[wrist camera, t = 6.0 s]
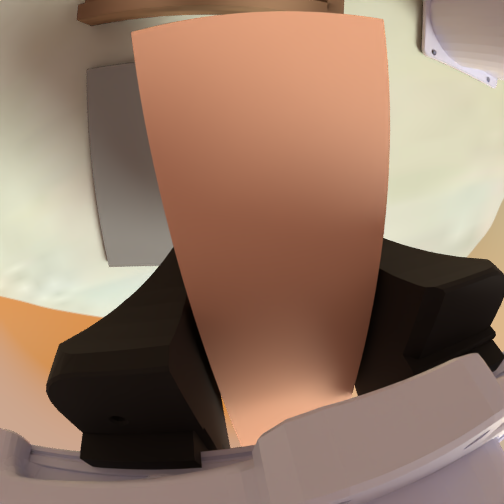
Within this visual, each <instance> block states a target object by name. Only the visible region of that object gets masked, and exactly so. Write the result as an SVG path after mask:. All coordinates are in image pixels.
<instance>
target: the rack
mask: <svg viewBox="0 0 504 504" xmlns="http://www.w3.org/2000/svg"><path fill="white" fill-rule="evenodd" d="M270 11H303V12H324V13H337V14H344V0H85V3H83V4H79V5H78V13H77V20H78V21H80V22H83V23H85V24H88V25H90V26H94V25H99V24H104V23H110V22H116V21H123V20H130V19H138V18H147V17H158V16H172V15H225V14H235V13H249V12H270Z"/></svg>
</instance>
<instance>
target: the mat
mask: <svg viewBox="0 0 504 504" xmlns="http://www.w3.org/2000/svg"><path fill="white" fill-rule="evenodd" d="M87 108H88V127H89V141H90V152H91V162H92V171H93V179H94V187H95V194H96V201H97V207H98V213H99V219H100V225H101V230H102V235H103V241H104V246H105V250H106V255H107V260H108V264H109V267H124V266H159V265H160V264H161V263H162V262H163V260H164V259H165V258H166V256H167V255H168V254H169V252H170V251H171V249H172V248H173V243H172V239H171V235H170V231H169V227H168V223H167V220H166V216H165V212H164V207H163V203H162V199H161V195H160V191H159V187H158V182H157V178H156V173H155V169H154V164H153V160H152V155H151V150H150V145H149V140H148V135H147V130H146V125H145V120H144V114H143V109H142V103H141V97H140V91H139V85H138V79H137V72H136V66H135V62H134V63H125V64H118V65H110V66H104V67H98V68H92V69H87Z"/></svg>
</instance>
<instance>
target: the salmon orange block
mask: <svg viewBox="0 0 504 504" xmlns="http://www.w3.org/2000/svg"><path fill="white" fill-rule="evenodd" d="M131 36H132V44H133V51H134V59H135V66H136V72H137V79H138V85H139V91H140V97H141V103H142V109H143V114H144V120H145V125H146V130H147V135H148V140H149V145H150V150H151V155H152V160H153V164H154V169H155V173H156V178H157V182H158V187H159V191H160V195H161V199H162V203H163V207H164V212H165V216H166V220H167V223H168V227H169V231H170V235H171V239H172V243H173V246H174V250H175V254H176V257H177V261H178V264H179V268H180V271H181V275H182V278H183V282H184V285H185V288H186V292H187V295H188V298H189V302H190V305H191V308H192V311H193V315H194V318H195V321H196V324H197V327H198V330H199V333H200V336H201V339H202V342H203V345H204V348H205V351H206V354H207V357H208V360H209V363H210V366H211V368H212V371H213V374H214V377H215V380H216V382H217V385H218V388H219V391H220V393H221V396H222V399H223V401H224V404H225V406H226V409H227V412H228V414H229V417H230V419H231V422H232V425H233V427H234V430H235V432H236V435H237V437H238V439H239V442H240V444H241V447H244V446H250V445H255V444H256V442H257V440H258V439H259V437H260V436H261V435H262V434H263V433H265V432H266V431H268V430H270V429H271V428H273V427H275V426H276V425H278V424H279V423H281V422H283V421H284V420H286V419H288V418H291V417H294V416H297V415H300V414H303V413H306V412H309V411H311V410H314V409H317V408H319V407H323V406H326V405H330V404H334V403H337V402H341V401H344V400H347V399H351V396H352V393H353V389H354V385H355V382H356V378H357V374H358V370H359V366H360V362H361V358H362V354H363V350H364V346H365V341H366V337H367V332H368V327H369V323H370V318H371V312H372V307H373V302H374V296H375V290H376V284H377V278H378V272H379V265H380V258H381V251H382V243H383V234H384V225H385V215H386V204H387V191H388V174H389V149H390V100H389V76H388V61H387V49H386V38H385V29H384V21H383V19H378V18H371V17H364V16H356V15H348V14H337V13H324V12H303V11H270V12H249V13H235V14H225V15H216V16H208V17H201V18H195V19H188V20H183V21H177V22H172V23H167V24H162V25H158V26H154V27H149V28H145V29H141V30H137V31H134V32H131Z"/></svg>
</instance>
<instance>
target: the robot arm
mask: <svg viewBox="0 0 504 504" xmlns="http://www.w3.org/2000/svg"><path fill="white" fill-rule="evenodd" d="M432 50H433V54H432ZM422 53H423V54H424V55H425V56H427V57H430V58H432V59H434V60H437V61H439V62H441V63H444V64H446V65H448V66H450V67H452V68H454V69H457V70H459V71H461V72H463V73H465V74H467V75H469V76H471V77H473V78H475V79H477V80H478V81H480V82H482V83H484V84H486V85H488V86H489V87H491V88H496V86H497V79H499V80H504V0H423V29H422ZM503 298H504V274H503V273H502V272H501V271H500V270H499V269H498V268H497V267H496V266H495V265H494V264H493V263H492V262H491V261H489V260H487V259H476V258H465V257H456V256H450V255H444V254H438V253H433V252H428V251H424V250H420V249H416V248H412V247H409V246H405V245H402V244H399V243H396V242H393V241H390V240H387V239H384V238H383V243H382V251H381V258H380V265H379V272H378V278H377V284H376V290H375V296H374V302H373V307H372V312H371V318H370V323H369V327H368V332H367V337H366V341H365V346H364V350H363V354H362V358H361V362H360V366H359V370H358V374H357V378H356V382H355V388H356V391H357V394H358V396H357V397H354V398H351V399H347V400H344V401H341V402H337V403H334V404H330V405H326V406H323V407H319V408H317V409H314V410H311V411H309V412H306V413H303V414H300V415H297V416H294V417H291V418H288V419H286V420H284V421H283V422H281V423H279V424H278V425H276V426H275V427H273V428H271V429H270V430H268V431H266V432H265V433H263V434H262V435H261V436H260V437H259V439H258V440H257V442H256V444H255V445H250V446H244V447H237V448H230V445H229V439H228V434H227V428H226V423H225V417H224V411H223V405H222V399H221V393H220V391H219V388H218V385H217V382H216V380H215V377H214V374H213V371H212V368H211V366H210V363H209V360H208V357H207V354H206V351H205V348H204V345H203V342H202V339H201V336H200V333H199V330H198V327H197V324H196V321H195V318H194V315H193V311H192V308H191V305H190V302H189V298H188V295H187V292H186V288H185V285H184V282H183V278H182V275H181V271H180V268H179V264H178V261H177V257H176V254H175V250H174V246H173V248H172V249H171V251H170V252H169V254H168V255H167V256H166V258H165V259H164V260H163V262H162V263H161V264H160V265H159V267H158V268H157V269H156V270H155V272H154V273H153V274H152V275H151V276H150V277H149V279H148V280H147V281H146V282H145V283H144V284H143V285H142V286H141V287H140V288H139V289H138V290H137V291H136V292H135V293H134V294H132V295H131V296H130V297H129V298H128V299H126V300H125V301H124V302H123V303H122V304H121V305H119V306H118V307H117V308H116V309H115V310H113V311H112V312H111V313H109V314H108V315H107V316H105V317H104V318H102V319H101V320H100V321H98V322H96V323H95V324H93V325H92V326H90V327H89V328H87V329H86V330H84V331H82V332H80V333H79V334H77V335H75V336H73V337H72V338H70V339H68V340H66V341H64V342H63V343H61V344H59V347H58V350H57V353H56V355H55V359H54V362H53V365H52V368H51V371H50V374H49V377H48V381H47V384H46V392H47V395H48V397H49V399H50V401H51V402H52V404H53V405H54V406H55V407H56V408H57V410H58V411H59V412H60V413H62V414H63V415H64V416H65V417H66V418H67V419H68V420H69V421H70V422H71V423H73V424H74V425H75V426H76V427H77V428H78V429H79V430H81V431H82V432H83V436H82V443H81V451H70V450H62V449H55V448H48V447H41V446H35V445H31V444H30V443H29V442H28V441H27V440H26V439H25V438H23V437H22V436H21V435H19V434H17V433H15V432H13V431H10V430H7V429H1V428H0V504H504V451H503V449H502V448H501V446H500V444H499V442H501V441H502V440H503V439H504V351H503V352H501V350H500V349H499V348H498V346H497V345H496V344H495V342H494V341H493V340H492V339H494V337H495V336H496V334H495V331H494V330H493V329H492V327H491V326H490V325H491V323H492V321H493V319H494V317H495V315H496V313H497V311H498V309H499V307H500V305H501V303H502V301H503Z"/></svg>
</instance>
